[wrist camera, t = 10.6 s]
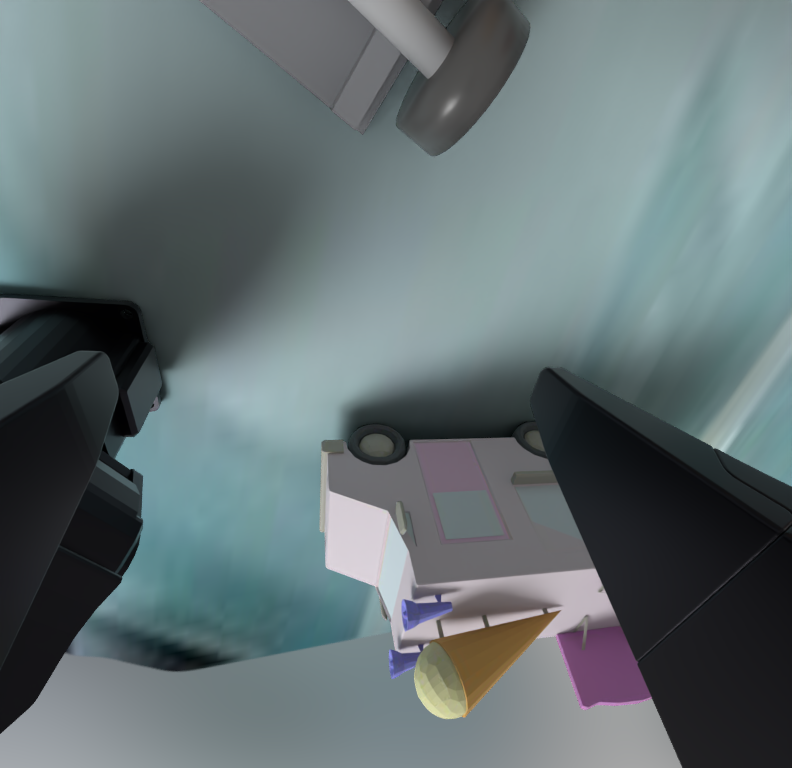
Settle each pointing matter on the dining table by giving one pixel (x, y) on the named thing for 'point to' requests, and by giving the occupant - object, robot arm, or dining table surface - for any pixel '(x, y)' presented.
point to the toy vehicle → (471, 563)
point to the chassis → (389, 56)
